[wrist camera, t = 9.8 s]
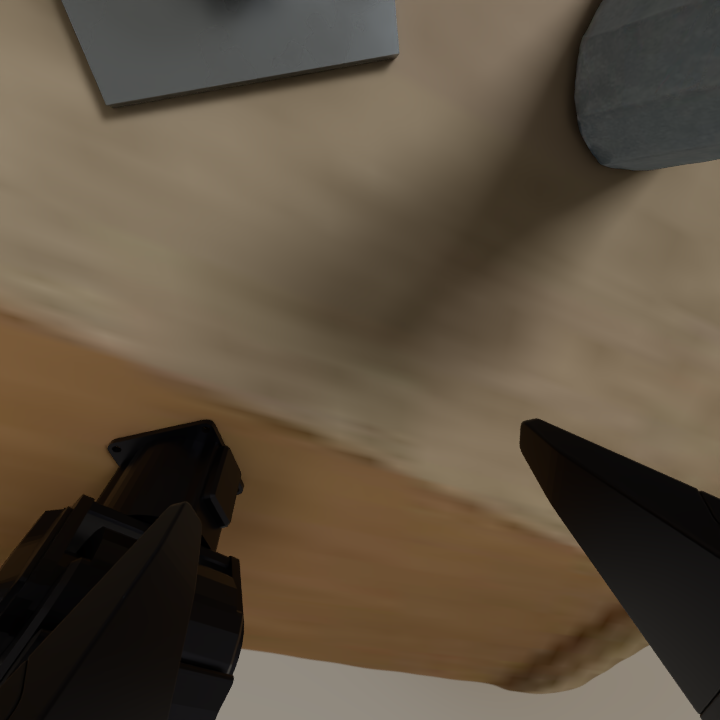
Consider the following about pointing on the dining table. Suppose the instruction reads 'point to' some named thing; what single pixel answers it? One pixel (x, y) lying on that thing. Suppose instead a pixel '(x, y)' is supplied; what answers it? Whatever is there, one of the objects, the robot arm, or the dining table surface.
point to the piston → (223, 42)
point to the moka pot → (650, 83)
